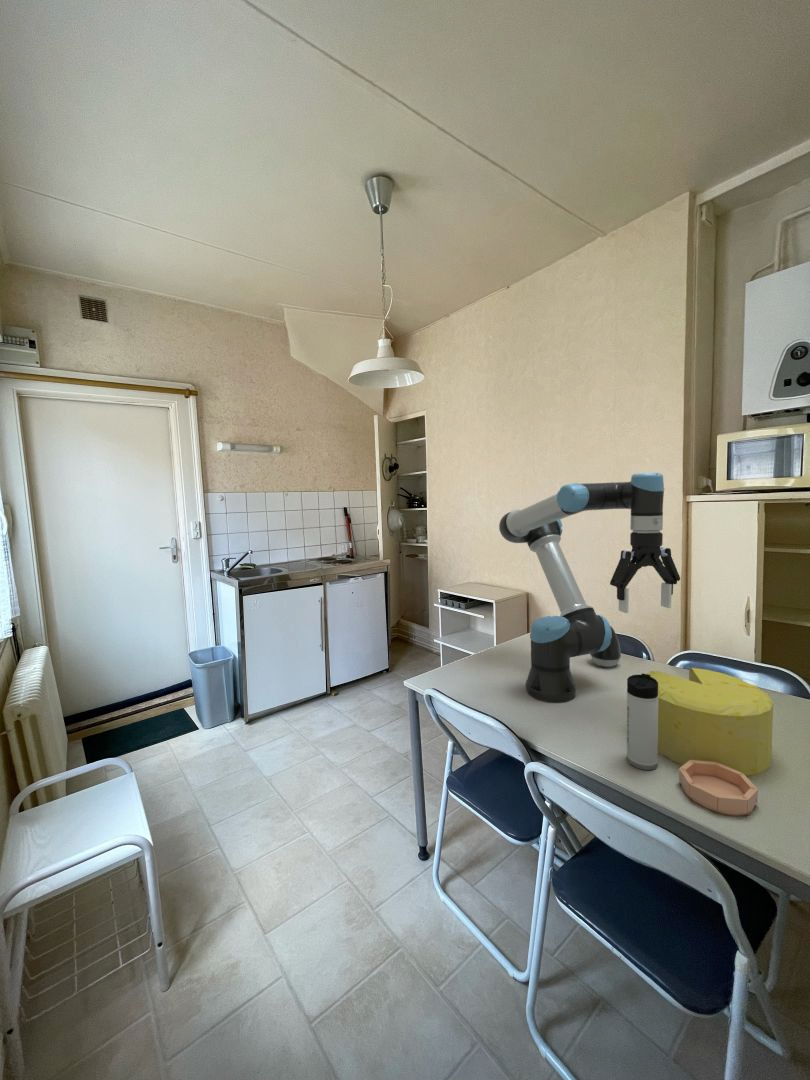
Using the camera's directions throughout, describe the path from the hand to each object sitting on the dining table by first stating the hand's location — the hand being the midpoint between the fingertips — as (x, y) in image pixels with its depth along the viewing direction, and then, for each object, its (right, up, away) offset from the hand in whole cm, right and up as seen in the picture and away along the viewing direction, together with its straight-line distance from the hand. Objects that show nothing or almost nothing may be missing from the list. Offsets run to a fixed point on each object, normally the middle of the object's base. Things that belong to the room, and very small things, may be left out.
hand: (644, 609), depth 116 cm
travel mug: (-10, -33, -17) cm, 38 cm away
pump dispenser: (+8, -27, +40) cm, 49 cm away
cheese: (+8, -32, -11) cm, 34 cm away
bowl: (-2, -33, -29) cm, 44 cm away
